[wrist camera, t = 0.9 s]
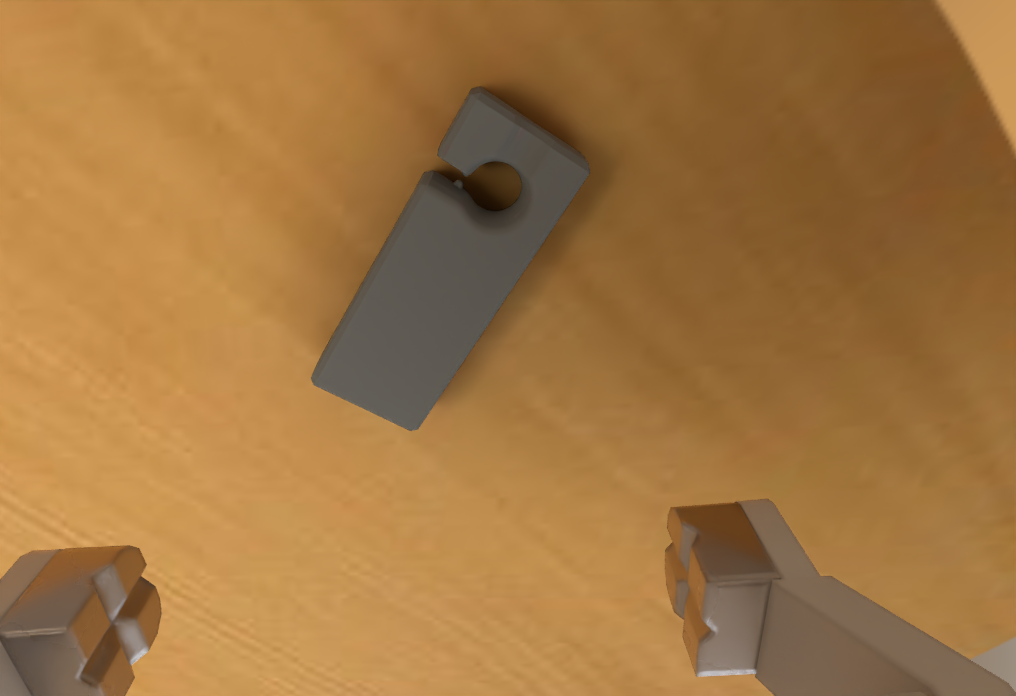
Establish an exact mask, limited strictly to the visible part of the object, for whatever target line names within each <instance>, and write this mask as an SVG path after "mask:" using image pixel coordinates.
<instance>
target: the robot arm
mask: <svg viewBox="0 0 1016 696" xmlns="http://www.w3.org/2000/svg"><path fill="white" fill-rule="evenodd" d="M667 529H668V532H669V534H670V537H671V540H672V543H671V544H670V545H669V546H668V547H667V549H666V550H665V575H666V585H667V589H668V594H669V598H670V601H671V604H672V607H673V610H674V613H676V614H677V615H678V616H679V617H681V618H682V619H683V620H684V626H683V640H684V643H685V646H686V649H687V651H688V654H689V657H690V660H691V663H692V666H693V669H694V671H695V674H696V677H698V676H720V675H741V674H756V675H755V677H756V678H757V679H758V680H759V681H760V682H761V683H762V684H763V685H764V686H765V687H766V688H767V689H768V690H769V691H770V692H772V693H773V694H774V695H775V696H1016V692H1015V691H1014V690H1013V688H1012V687H1011V686H1010V685H1009V683H1007V682H1005V681H1004V680H1002V679H1001V678H999V677H997V676H995V675H994V674H992V673H991V672H989V671H987V670H986V669H984V668H983V667H981V666H979V665H977V664H976V663H974V662H973V661H971V660H969V659H968V658H966V657H964V656H963V655H961V654H959V653H958V652H956V651H954V650H953V649H951V648H949V647H948V646H946V645H944V644H943V643H941V642H939V641H938V640H936V639H934V638H933V637H931V636H929V635H928V634H926V633H925V632H923V631H921V630H920V629H918V628H916V627H915V626H913V625H911V624H910V623H908V622H906V621H905V620H903V619H901V618H900V617H898V616H896V615H895V614H893V613H891V612H890V611H888V610H886V609H885V608H883V607H881V606H880V605H878V604H876V603H875V602H873V601H871V600H870V599H868V598H867V597H865V596H863V595H862V594H860V593H858V592H857V591H855V590H853V589H852V588H850V587H848V586H847V585H845V584H843V583H842V582H840V581H838V580H837V579H835V578H833V577H832V576H822V577H821V576H820V575H819V573H818V572H817V570H816V568H815V567H814V565H813V564H812V562H811V561H810V559H809V557H808V556H807V554H806V553H805V551H804V550H803V548H802V547H801V545H800V543H799V542H798V540H797V539H796V537H795V536H794V534H793V532H792V531H791V529H790V528H789V526H788V525H787V523H786V522H785V520H784V518H783V517H782V515H781V514H780V512H779V511H778V509H777V508H776V506H775V504H774V503H773V502H772V501H770V500H769V499H758V500H747V501H736V502H735V503H719V504H706V505H693V506H680V507H670V510H669V513H668V521H667ZM146 565H147V564H146V562H145V560H144V558H143V556H142V553H141V551H140V549H139V548H137V547H133V546H130V545H129V546H108V547H87V548H66V549H59V550H37V551H31V552H29V553H27V554H25V555H22V556H21V557H20V558H19V559H18V560H17V561H16V562H15V563H14V565H13V566H12V567H11V568H10V569H9V570H8V571H7V573H6V574H5V575H4V576H3V577H2V578H1V579H0V696H125V695H126V693H127V691H128V689H129V687H130V686H131V684H132V682H133V680H134V678H135V677H134V673H133V670H132V666H131V665H132V664H133V663H134V662H136V661H137V660H138V659H139V658H141V657H142V656H143V655H144V654H146V653H147V652H148V651H149V650H150V648H151V646H152V644H153V642H154V640H155V638H156V636H157V634H158V628H159V623H160V618H161V604H160V597H159V595H158V592H157V589H156V587H155V586H154V585H153V584H151V583H150V582H149V581H147V580H146V579H144V578H143V577H141V575H142V573H143V571H144V569H145V567H146Z"/></svg>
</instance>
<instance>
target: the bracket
mask: <svg viewBox="0 0 1016 696" xmlns="http://www.w3.org/2000/svg"><path fill="white" fill-rule="evenodd" d="M438 156H439V157H440V158H441V159H443V160H444V161H446V162H447V163H449V164H451V165H452V166H454V167H455V168H457V169H459V170H460V171H462V174H463V175H464V176H469V175H470V174H472V173H473V172H474V171H475V170H476V169H477V168H478V167H479V166H481V165H483V164H485V163H488V162H492V161H499V162H504V163H507V164H509V165H510V166H512V167H513V168H514V169H515V170H516V171H517V172H518V174H519V176H520V178H521V183H522V189H521V193H520V195H519V197H518V199H517V200H516V202H515V203H514V204H513V205H511V206H510V207H508V208H506V209H504V210H500V211H490V210H486V209H483V208H481V207H480V206H478V205H477V204H476V203H475V202H474V201H473V199H472V198H471V196H470V194H469V193H468V192H467V191H466V190H465V189H464V188H462V187H463V182H462V181H461V180H457V181H455V183H454V182H452V181H451V180H449V179H447V178H446V177H444V176H443V175H441V174H439V173H438V172H436V171H434V170H432V171H428V172H424V174H423V176H422V177H421V179H420V181H419V183H418V184H417V186H416V188H415V190H414V192H413V193H412V195H411V197H410V199H409V200H408V202H407V204H406V206H405V207H404V209H403V211H402V213H401V215H400V216H399V218H398V220H397V222H396V223H395V225H394V227H393V229H392V231H391V232H390V234H389V236H388V238H387V239H386V241H385V243H384V245H383V247H382V248H381V250H380V252H379V254H378V255H377V257H376V259H375V261H374V263H373V264H372V266H371V268H370V270H369V271H368V273H367V275H366V277H365V279H364V280H363V282H362V284H361V286H360V287H359V289H358V291H357V293H356V294H355V296H354V298H353V300H352V302H351V303H350V305H349V307H348V309H347V310H346V312H345V314H344V316H343V318H342V319H341V321H340V323H339V325H338V326H337V328H336V330H335V332H334V334H333V335H332V337H331V339H330V341H329V342H328V344H327V346H326V348H325V350H324V351H323V353H322V355H321V357H320V359H319V361H318V363H317V365H316V367H315V370H314V372H313V374H312V377H311V379H312V382H313V384H314V385H315V386H317V387H319V388H321V389H323V390H325V391H327V392H330V393H332V394H334V395H336V396H338V397H340V398H342V399H344V400H346V401H349V402H351V403H353V404H355V405H357V406H359V407H361V408H363V409H365V410H367V411H370V412H372V413H374V414H376V415H378V416H380V417H382V418H384V419H386V420H389V421H391V422H393V423H395V424H397V425H399V426H401V427H403V428H405V429H407V430H410V431H412V430H417V429H419V427H420V426H421V424H422V423H423V421H424V420H425V418H426V417H427V415H428V414H429V412H430V411H431V409H432V408H433V406H434V405H435V403H436V402H437V400H438V399H439V397H440V396H441V394H442V393H443V391H444V390H445V388H446V387H447V385H448V384H449V382H450V381H451V379H452V378H453V376H454V375H455V373H456V372H457V370H458V369H459V367H460V366H461V364H462V363H463V361H464V360H465V358H466V357H467V356H468V354H469V353H470V351H471V350H472V348H473V347H474V345H475V344H476V342H477V341H478V339H479V338H480V336H481V335H482V333H483V332H484V330H485V329H486V327H487V326H488V324H489V323H490V321H491V320H492V318H493V317H494V315H495V314H496V312H497V311H498V309H499V308H500V306H501V305H502V303H503V302H504V300H505V299H506V297H507V296H508V294H509V293H510V291H511V290H512V288H513V287H514V285H515V284H516V283H517V281H518V280H519V278H520V277H521V275H522V274H523V272H524V271H525V269H526V268H527V266H528V265H529V263H530V262H531V260H532V259H533V257H534V256H535V254H536V253H537V251H538V250H539V248H540V247H541V245H542V244H543V242H544V241H545V239H546V238H547V236H548V235H549V233H550V232H551V230H552V229H553V227H554V226H555V224H556V223H557V221H558V220H559V218H560V217H561V215H562V214H563V212H564V211H565V210H566V208H567V207H568V205H569V204H570V202H571V201H572V199H573V198H574V196H575V195H576V193H577V192H578V190H579V189H580V187H581V186H582V184H583V183H584V181H585V180H586V178H587V177H588V175H589V174H590V169H589V163H588V162H587V160H586V159H585V157H584V156H583V155H582V154H581V153H580V152H578V151H577V150H575V149H574V148H572V147H571V146H569V145H568V144H566V143H565V142H563V141H562V140H560V139H559V138H557V137H556V136H554V135H553V134H551V133H550V132H548V131H546V130H545V129H543V128H542V127H540V126H538V125H537V124H535V123H534V122H532V121H531V120H529V119H528V118H526V117H525V116H523V115H522V114H521V113H519V112H518V111H516V110H515V109H514V108H512V107H511V106H509V105H508V104H506V103H505V102H503V101H502V100H500V99H499V98H497V97H496V96H494V95H493V94H491V93H490V92H488V91H487V90H485V89H484V88H482V87H481V86H480V87H476V88H472V89H471V90H470V92H469V94H468V96H467V98H466V99H465V101H464V103H463V105H462V106H461V108H460V110H459V112H458V113H457V115H456V117H455V119H454V121H453V122H452V124H451V126H450V128H449V129H448V131H447V133H446V135H445V137H444V138H443V140H442V142H441V144H440V146H439V149H438Z"/></svg>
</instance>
